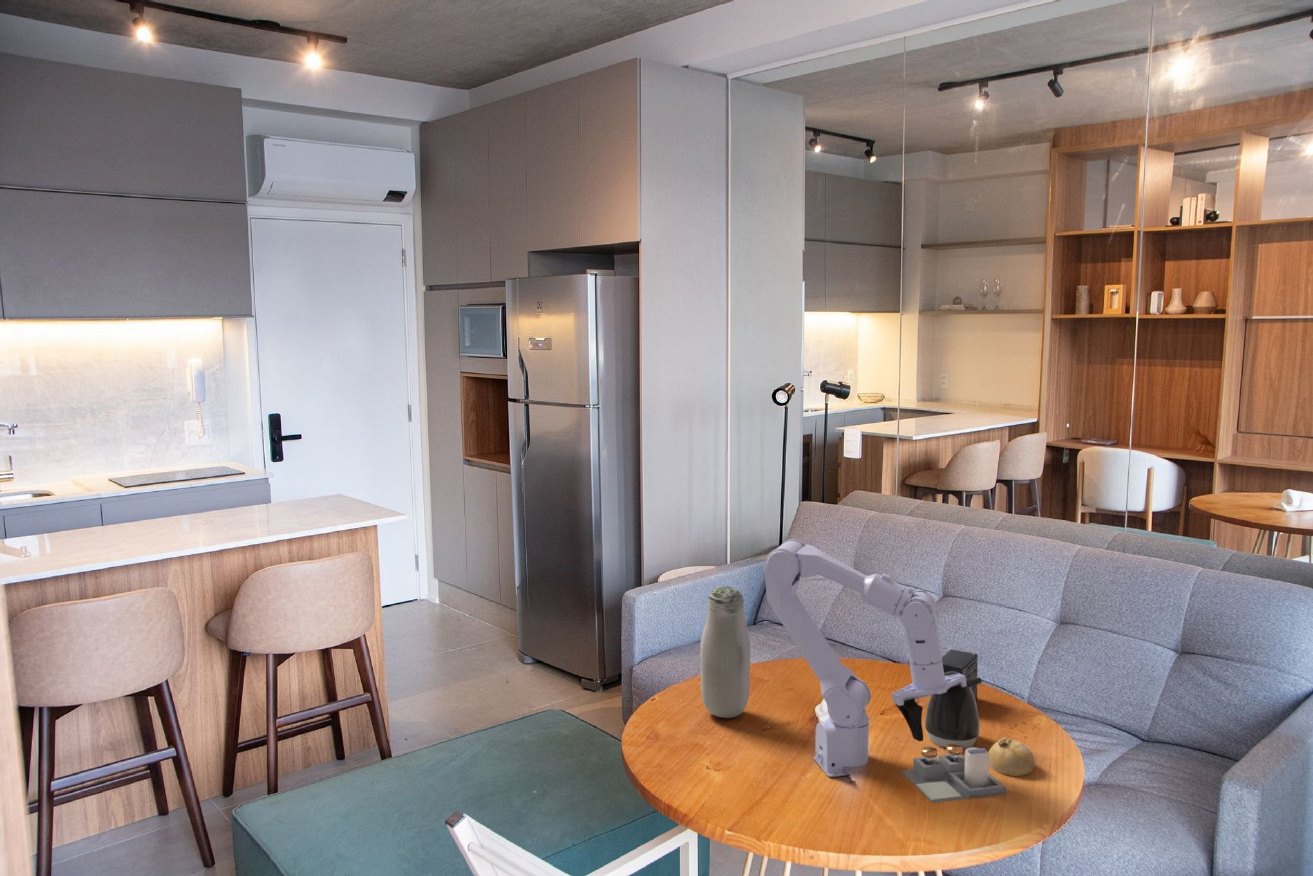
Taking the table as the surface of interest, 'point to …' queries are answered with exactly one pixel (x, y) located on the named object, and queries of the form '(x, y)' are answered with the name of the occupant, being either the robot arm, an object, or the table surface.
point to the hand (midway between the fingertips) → (935, 734)
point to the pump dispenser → (967, 721)
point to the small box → (962, 665)
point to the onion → (1011, 758)
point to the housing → (948, 780)
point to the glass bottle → (725, 654)
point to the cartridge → (976, 767)
